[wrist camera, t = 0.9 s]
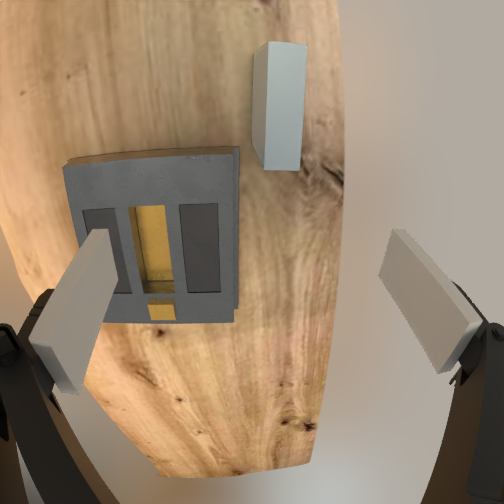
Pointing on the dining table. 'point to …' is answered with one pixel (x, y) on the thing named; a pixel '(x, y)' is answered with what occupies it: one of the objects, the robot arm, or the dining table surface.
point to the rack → (163, 230)
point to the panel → (278, 104)
